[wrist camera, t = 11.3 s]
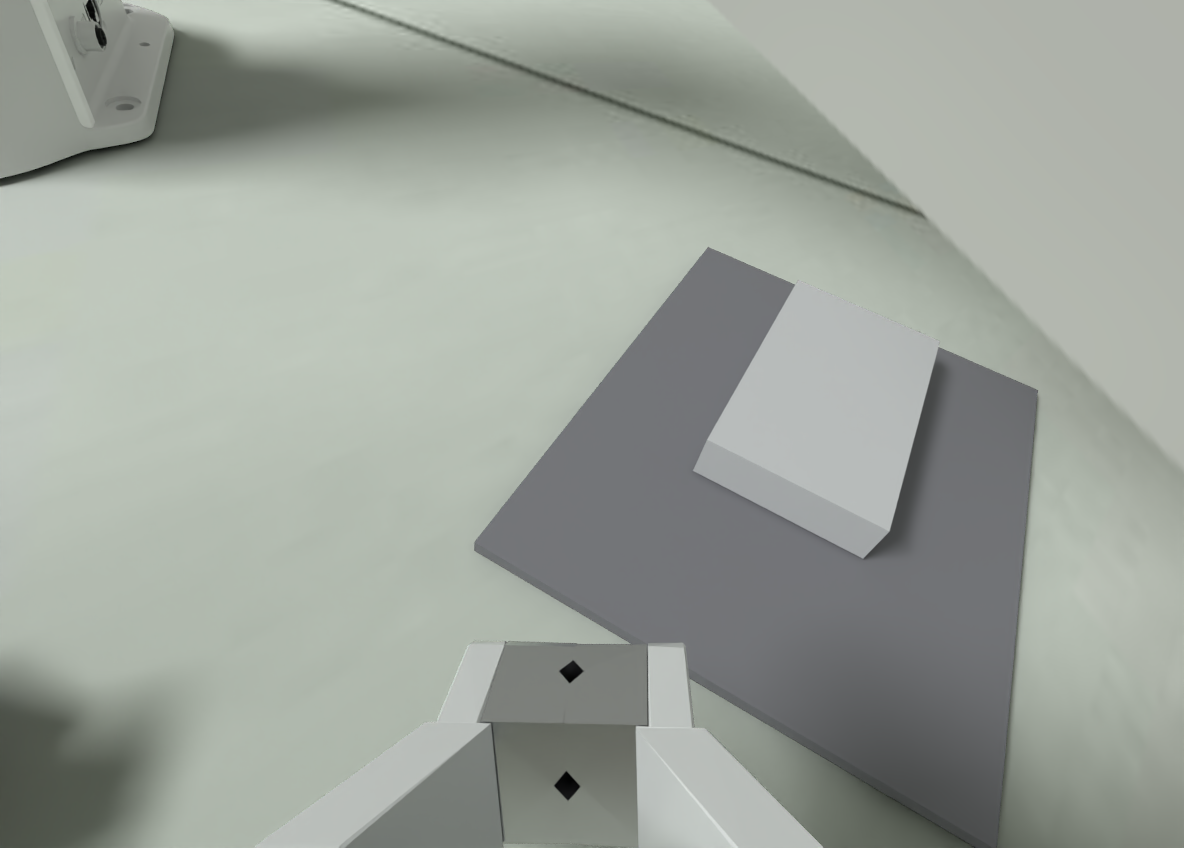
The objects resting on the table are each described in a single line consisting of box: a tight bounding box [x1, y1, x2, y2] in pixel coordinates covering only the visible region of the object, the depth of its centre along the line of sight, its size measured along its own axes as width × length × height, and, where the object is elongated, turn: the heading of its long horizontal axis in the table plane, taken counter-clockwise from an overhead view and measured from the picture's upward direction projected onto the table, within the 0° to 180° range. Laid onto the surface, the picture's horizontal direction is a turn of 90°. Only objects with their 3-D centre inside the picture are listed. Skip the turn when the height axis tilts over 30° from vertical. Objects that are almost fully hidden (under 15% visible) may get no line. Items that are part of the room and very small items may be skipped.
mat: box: [474, 247, 1038, 848], centre depth 27 cm, size 22×18×1 cm
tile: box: [693, 280, 940, 558], centre depth 28 cm, size 2×7×12 cm
